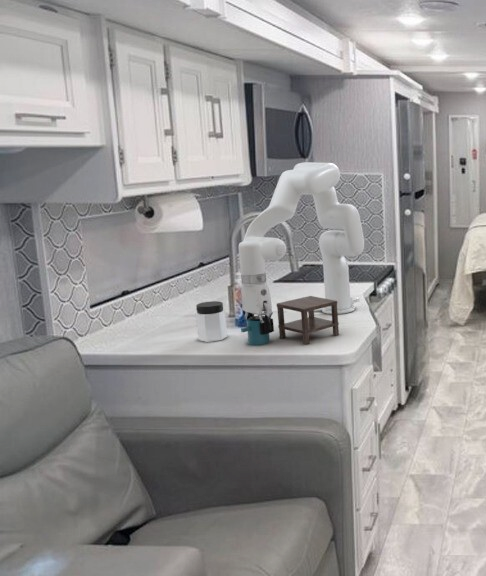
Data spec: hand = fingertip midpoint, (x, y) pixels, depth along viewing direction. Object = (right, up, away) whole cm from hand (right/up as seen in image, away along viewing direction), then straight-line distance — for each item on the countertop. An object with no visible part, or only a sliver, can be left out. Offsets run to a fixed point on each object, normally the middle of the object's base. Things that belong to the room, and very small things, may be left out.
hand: (258, 331), depth 220 cm
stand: (+15, -2, +8) cm, 17 cm away
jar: (-17, -3, +6) cm, 18 cm away
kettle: (0, -4, +1) cm, 4 cm away
